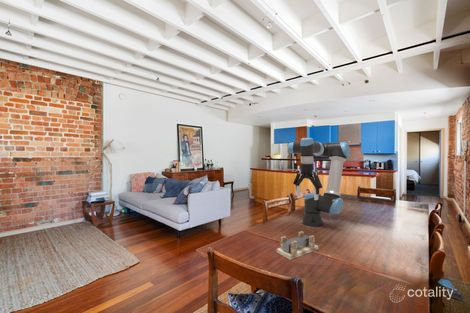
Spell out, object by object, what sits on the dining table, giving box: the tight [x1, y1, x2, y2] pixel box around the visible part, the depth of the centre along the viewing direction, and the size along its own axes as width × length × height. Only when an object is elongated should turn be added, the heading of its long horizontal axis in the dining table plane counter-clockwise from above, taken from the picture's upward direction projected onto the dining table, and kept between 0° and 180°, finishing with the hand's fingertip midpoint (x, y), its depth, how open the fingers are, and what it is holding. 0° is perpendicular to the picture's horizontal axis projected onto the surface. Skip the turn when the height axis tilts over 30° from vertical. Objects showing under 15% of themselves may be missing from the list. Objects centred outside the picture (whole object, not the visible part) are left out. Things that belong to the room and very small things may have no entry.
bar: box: [282, 234, 310, 253], centre depth 124 cm, size 18×4×4 cm, turn 123°
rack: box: [276, 230, 319, 261], centre depth 124 cm, size 22×10×8 cm, turn 122°
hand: (307, 197), depth 138 cm, fingers open, 13 cm apart
